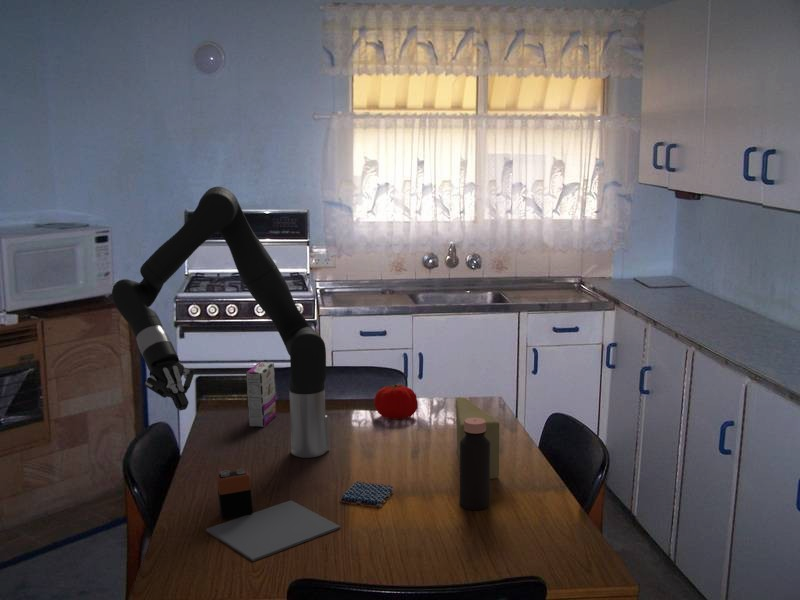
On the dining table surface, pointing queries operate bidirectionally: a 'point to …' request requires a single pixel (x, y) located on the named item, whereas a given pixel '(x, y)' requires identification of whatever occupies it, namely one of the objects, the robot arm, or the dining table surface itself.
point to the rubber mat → (272, 530)
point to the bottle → (474, 465)
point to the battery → (234, 493)
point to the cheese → (492, 433)
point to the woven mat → (367, 494)
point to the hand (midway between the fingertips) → (184, 408)
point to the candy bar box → (261, 394)
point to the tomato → (396, 402)
